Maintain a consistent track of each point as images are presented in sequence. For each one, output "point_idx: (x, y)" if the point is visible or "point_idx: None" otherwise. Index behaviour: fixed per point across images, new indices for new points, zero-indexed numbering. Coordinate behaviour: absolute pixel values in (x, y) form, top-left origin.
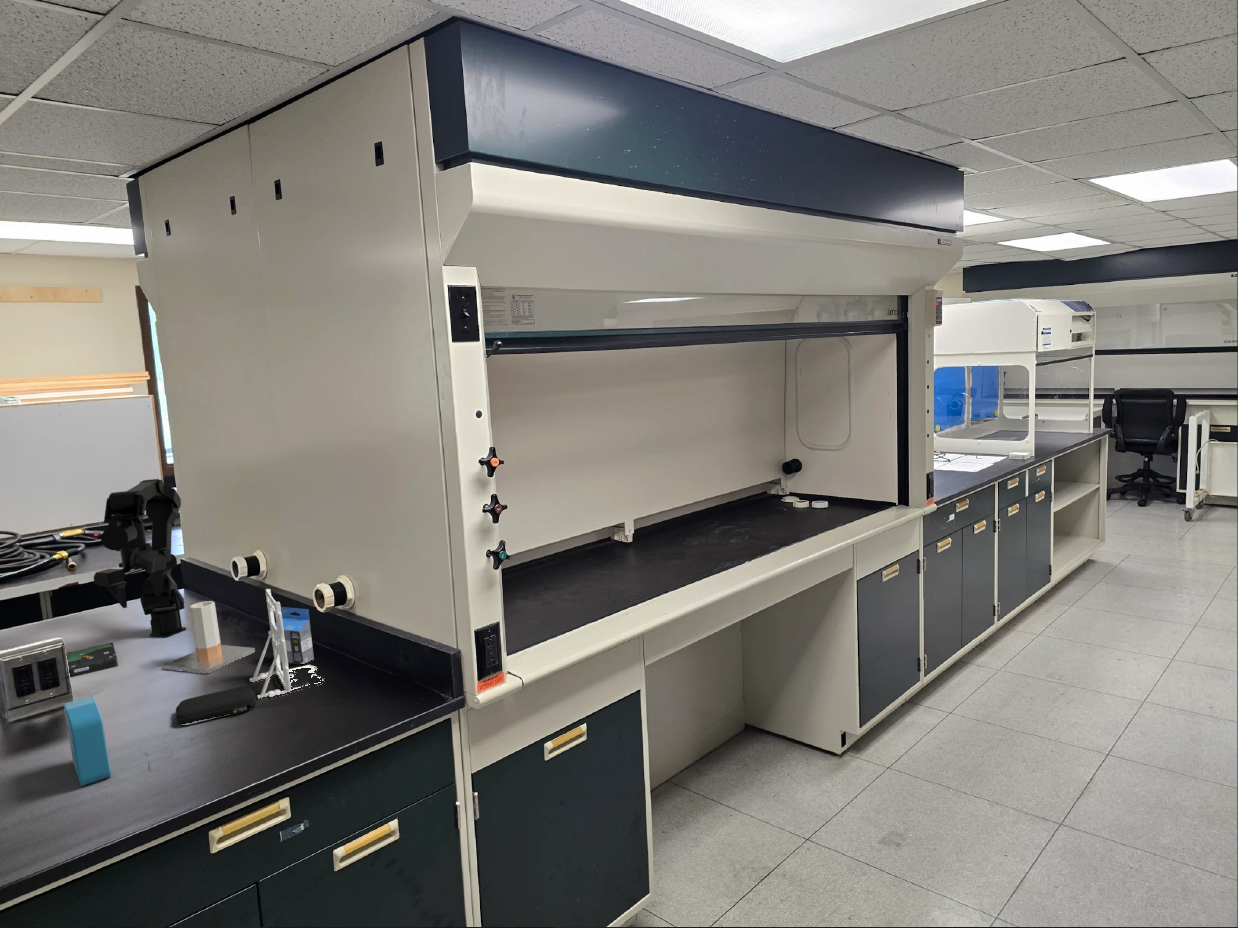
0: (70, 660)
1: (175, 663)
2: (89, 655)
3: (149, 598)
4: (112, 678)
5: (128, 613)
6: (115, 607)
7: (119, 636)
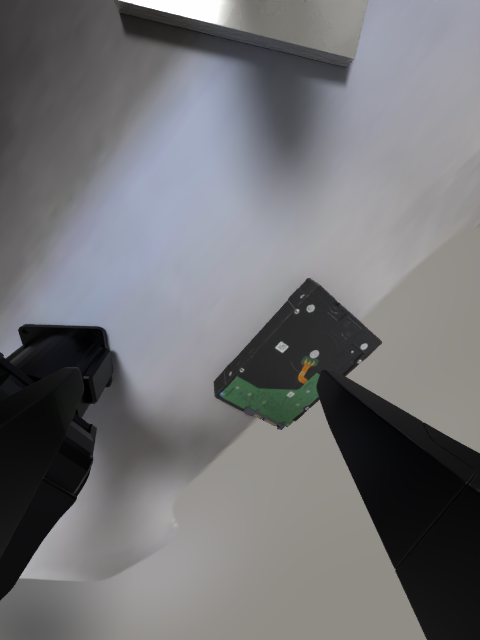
0: None
1: (341, 1)
2: (298, 372)
3: (61, 459)
4: (392, 210)
5: None
6: None
7: (138, 442)
